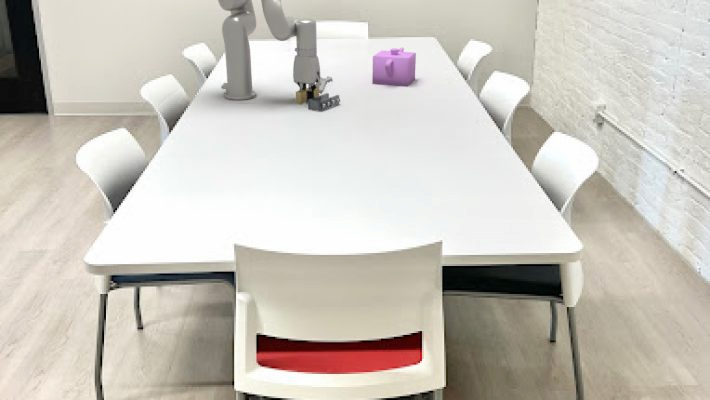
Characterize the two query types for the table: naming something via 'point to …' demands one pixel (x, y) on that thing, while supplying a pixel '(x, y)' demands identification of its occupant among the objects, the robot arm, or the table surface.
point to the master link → (305, 95)
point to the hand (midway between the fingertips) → (307, 99)
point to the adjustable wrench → (324, 83)
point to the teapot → (394, 67)
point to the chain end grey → (333, 100)
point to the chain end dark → (318, 103)
